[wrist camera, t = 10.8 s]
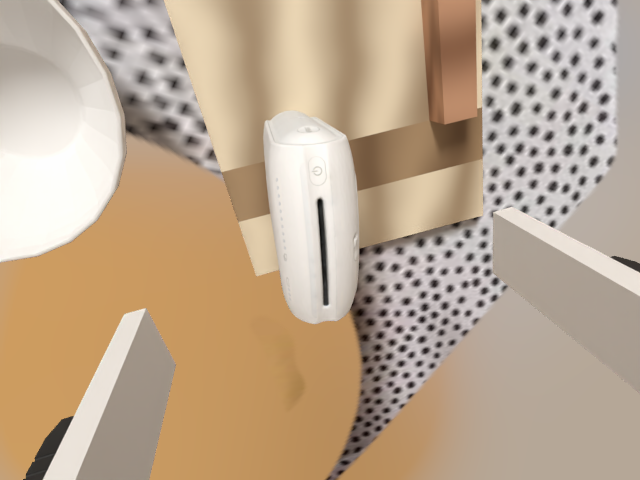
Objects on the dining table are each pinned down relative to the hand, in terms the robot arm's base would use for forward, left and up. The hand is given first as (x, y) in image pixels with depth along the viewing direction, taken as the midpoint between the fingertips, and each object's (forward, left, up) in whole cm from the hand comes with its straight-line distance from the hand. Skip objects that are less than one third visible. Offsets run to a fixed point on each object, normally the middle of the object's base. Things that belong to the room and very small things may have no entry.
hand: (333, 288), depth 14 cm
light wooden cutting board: (+5, +4, -17) cm, 18 cm away
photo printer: (0, 0, -16) cm, 16 cm away
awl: (+12, +9, -15) cm, 21 cm away
